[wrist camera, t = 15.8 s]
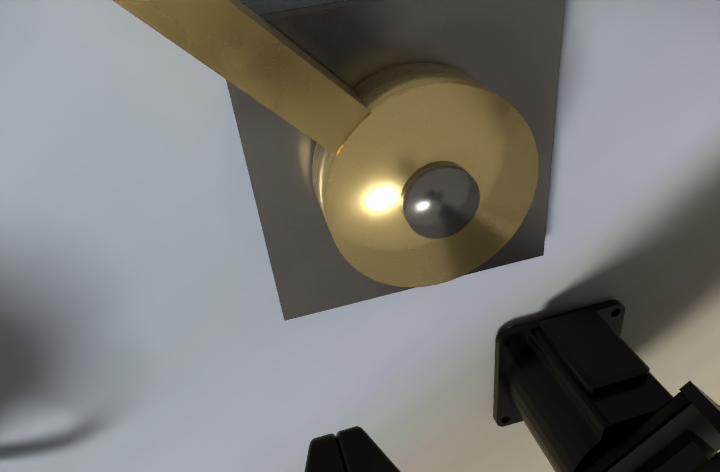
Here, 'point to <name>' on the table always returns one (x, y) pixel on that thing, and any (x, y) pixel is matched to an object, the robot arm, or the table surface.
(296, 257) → the base
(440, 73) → the brass door lever
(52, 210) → the table surface
